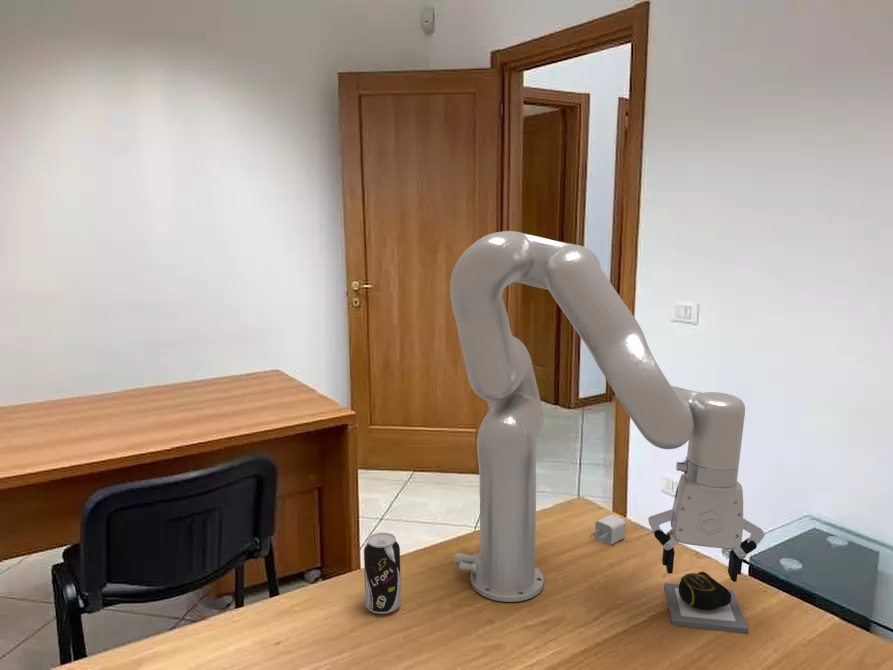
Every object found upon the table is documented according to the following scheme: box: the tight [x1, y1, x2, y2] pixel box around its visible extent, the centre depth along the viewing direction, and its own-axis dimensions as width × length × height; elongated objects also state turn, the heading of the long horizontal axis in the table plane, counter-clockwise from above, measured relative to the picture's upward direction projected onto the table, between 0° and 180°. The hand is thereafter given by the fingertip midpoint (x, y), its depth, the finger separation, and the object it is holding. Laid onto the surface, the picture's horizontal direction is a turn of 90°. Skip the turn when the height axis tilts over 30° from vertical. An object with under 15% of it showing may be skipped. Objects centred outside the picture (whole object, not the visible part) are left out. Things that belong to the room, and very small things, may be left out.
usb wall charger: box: [590, 514, 627, 546], centre depth 131 cm, size 4×7×4 cm, turn 130°
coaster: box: [663, 582, 749, 634], centre depth 109 cm, size 11×11×1 cm
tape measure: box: [678, 571, 731, 610], centre depth 109 cm, size 7×7×4 cm
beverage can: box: [363, 532, 402, 615], centre depth 109 cm, size 6×6×12 cm
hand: (700, 573), depth 108 cm, fingers open, 9 cm apart
